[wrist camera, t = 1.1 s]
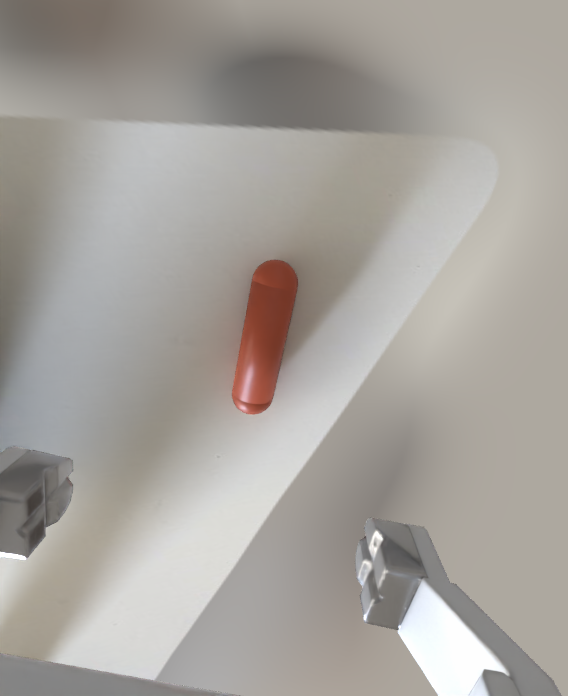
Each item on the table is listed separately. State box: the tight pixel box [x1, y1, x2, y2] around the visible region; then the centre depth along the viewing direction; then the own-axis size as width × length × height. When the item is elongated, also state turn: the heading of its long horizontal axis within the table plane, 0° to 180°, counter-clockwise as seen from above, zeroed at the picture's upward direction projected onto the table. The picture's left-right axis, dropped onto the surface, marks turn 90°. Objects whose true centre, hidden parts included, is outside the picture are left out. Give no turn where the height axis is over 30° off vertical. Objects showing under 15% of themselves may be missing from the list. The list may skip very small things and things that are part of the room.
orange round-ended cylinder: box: [232, 260, 298, 414], centre depth 23 cm, size 10×3×3 cm, turn 168°
